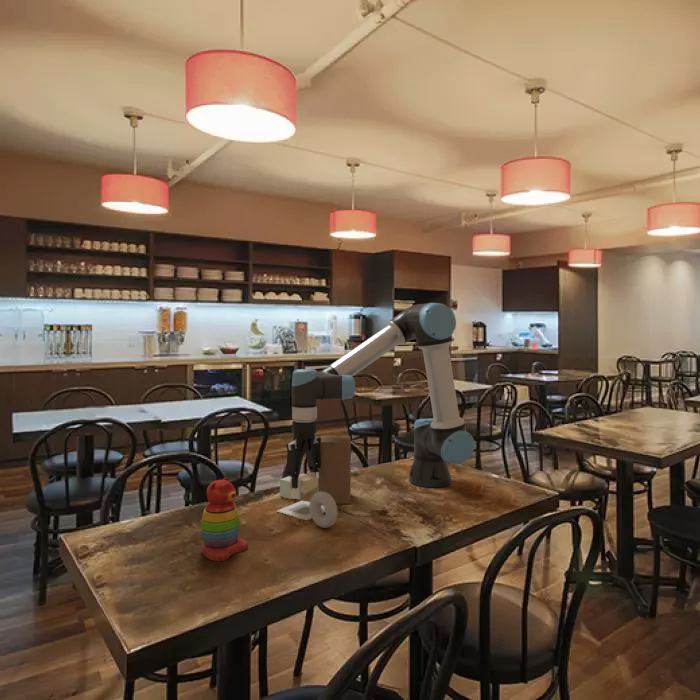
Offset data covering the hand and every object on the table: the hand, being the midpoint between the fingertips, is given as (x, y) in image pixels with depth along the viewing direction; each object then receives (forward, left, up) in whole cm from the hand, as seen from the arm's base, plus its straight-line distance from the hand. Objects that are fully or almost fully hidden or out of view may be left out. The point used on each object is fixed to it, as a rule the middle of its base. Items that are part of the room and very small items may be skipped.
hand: (303, 495), depth 159 cm
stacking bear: (-2, +34, -5) cm, 34 cm away
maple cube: (0, 0, 0) cm, 0 cm away
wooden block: (-1, -14, -5) cm, 15 cm away
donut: (-13, +7, -5) cm, 16 cm away
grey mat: (0, 0, -5) cm, 5 cm away
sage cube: (+12, -8, -5) cm, 15 cm away
